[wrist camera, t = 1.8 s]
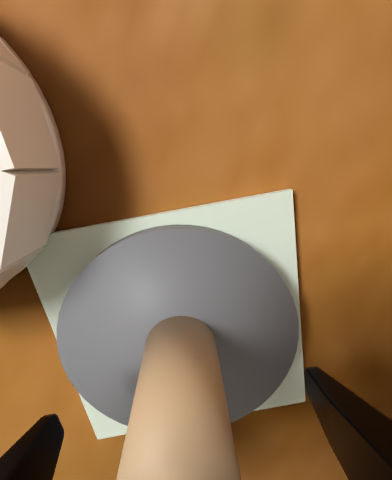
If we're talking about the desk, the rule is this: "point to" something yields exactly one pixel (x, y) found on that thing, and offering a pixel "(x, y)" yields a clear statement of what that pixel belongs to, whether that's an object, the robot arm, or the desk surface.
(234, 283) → the lid
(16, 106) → the bowl
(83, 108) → the desk surface
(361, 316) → the desk surface
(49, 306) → the mat
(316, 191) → the desk surface
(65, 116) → the desk surface
